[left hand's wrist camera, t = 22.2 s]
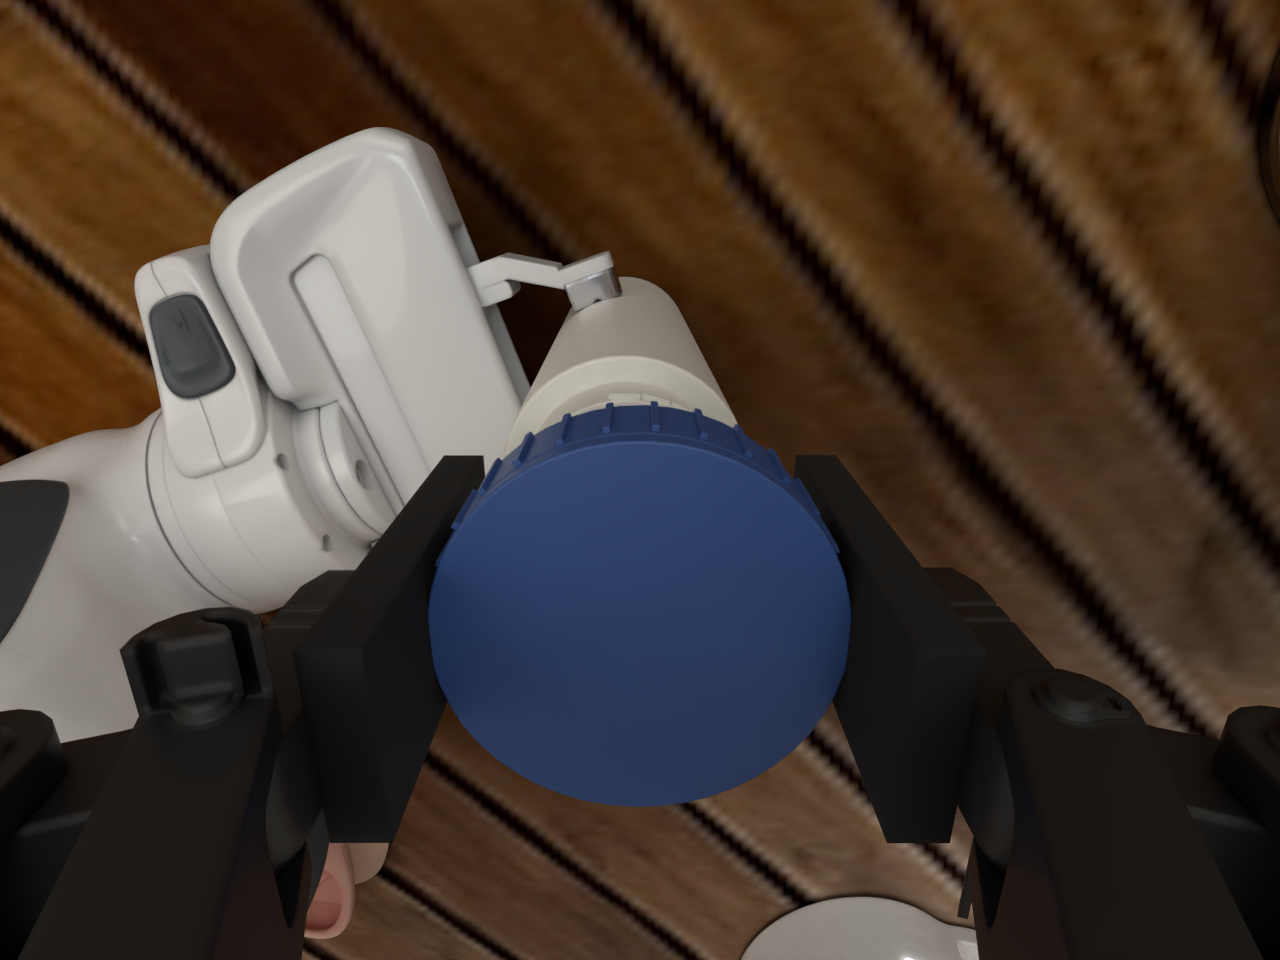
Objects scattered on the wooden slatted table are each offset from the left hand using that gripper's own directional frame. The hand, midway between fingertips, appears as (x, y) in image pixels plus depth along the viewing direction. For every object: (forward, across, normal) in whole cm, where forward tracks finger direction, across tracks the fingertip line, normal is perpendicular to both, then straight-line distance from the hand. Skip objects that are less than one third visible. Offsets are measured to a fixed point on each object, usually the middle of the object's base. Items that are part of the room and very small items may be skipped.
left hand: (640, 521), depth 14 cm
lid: (-4, 0, 0) cm, 4 cm away
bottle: (+20, +1, 0) cm, 20 cm away
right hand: (+13, 0, 0) cm, 13 cm away
